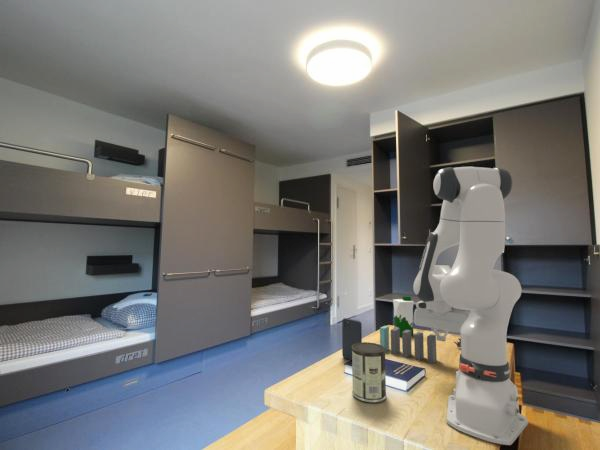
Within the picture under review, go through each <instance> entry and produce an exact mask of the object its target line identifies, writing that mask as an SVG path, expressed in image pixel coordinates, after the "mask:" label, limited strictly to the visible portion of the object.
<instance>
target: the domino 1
mask: <svg viewBox="0 0 600 450" xmlns="http://www.w3.org/2000/svg"><path fill="white" fill-rule="evenodd" d="M379 345H382V346H383V347H385V349H386V350H385V351H386V352H387V351H389V350H390V326H387V325H383V326H381V327H379ZM388 349H389V350H388Z"/></svg>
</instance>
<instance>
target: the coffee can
mask: <svg viewBox="0 0 600 450" xmlns="http://www.w3.org/2000/svg"><path fill="white" fill-rule="evenodd" d="M385 350H386V349H385V347H383V346H382V345H380V343H375V342H367V341H366V342H364V341H363V342H361V343H356V344H353V345H352V361H351V366H352V368H351V369H352V371H351V372H352V377H351V378H352V379H351V381H352V395H353V397H355V398H356V399H357V400H360V401H362V402H365V403H380V402H383V401H384V400H386V398H387V392H386V391H387V388H386V383H387V381H386V378H387V377H386V352H385Z"/></svg>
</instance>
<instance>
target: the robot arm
mask: <svg viewBox="0 0 600 450" xmlns="http://www.w3.org/2000/svg"><path fill="white" fill-rule="evenodd" d="M432 184H433V185H432V186H433V192H434V195H435V196H436V197H437V198H439V199H440V200H443V201H442V204H441V209H440V216H439V223H438V224H437V227H436V229H435V230H434V231H432V232H431V233H430V234H428V237H427V239H426V243H425V244H424V245H425V246H424V249H423V253H422V256H421V261H420V263H419V268H418V271H417V273H416V275H415V278H414V281H413V284H412V285H413V287H412V289H413V294H414V295H415V296H416V297H417V298H418V300H420V301H418V302H416V304H415V307H416V308H415V309H414V312H413V324H414V325H415V326H418V327H424V328H430V329H433V332H434V335H436V341H440V342H446V337H447V336H448V334H449V332H453V333H459V334H460V338H461V347H460V353H459V358H458V359H459V360H458V363H459V365H458V366H459V367H458V370H457V371H455V382H456V385H455V388H453V389H452V394H450V395H448V399H447V409H446V424H448V425H449V426H451V427H452V428H454V429H456V430H458V431H460V432H463V433H464V434H467V435H470V436H473V437H475V438H478V439H481V440H484V441H486V442H490V443H494V444H499V445H503V446H504V445H505V446H512V444H513V443H514V442H515V441H516V440H517V438H519V436H520V435H521V433H522V432H523V431H524V430H525V428H526V427H527V426H528V425H529V419H528V418H527V417H526V416H525V415H523V414H521V413H520V406H519V405H520V404H519V395H518V388H517V387H518V386H517V385H515V384H514V383H513V381H511V379H510V377H511V367H510V363H509V361H508V351H507V335H508V333H507V332H508V326H509V322H510V318H511V315H512V311H513V308H514V306H515V304H516V303H517V302H518V300H519V299H520V298H521V296H522V291H523V290H522V286H521V283H520V281H519V280H518V278H517V277H516V276H515V275H514V274H511V273H509V272H506V271H503V270H499V269H494V267H495V265H496V262H497V260H498V258H499V257H500V256H501V255H502V254H503V253H504V251H505V245H506V241H505V239H506V209H505V202H504V201H505V200H504V199H506V198H508V196H509V195H510V194H511V191H512V189H513V177H512V175H511V173H510V172H509V171H508V170H506V169H503V168H498V167H493V168H491V167H483V166H482V167H479V166H460V167H451V166H450V167H444V168H441V169H439V170H438V171H437V172H436V174H435V177H434V179H433V183H432ZM457 245H458V250H457V254H456V258H455V260H454V262H453V265H452V267H451V266H450V265H449V264H443V263H442V264H441V263H439V264H436V263H437V260H438V257H439V255H441V253H442V252H444V251H446V250H447V249H449V248H451V247H455V246H457ZM439 330H441V331H443V335H441V334H440V333H439Z"/></svg>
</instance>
